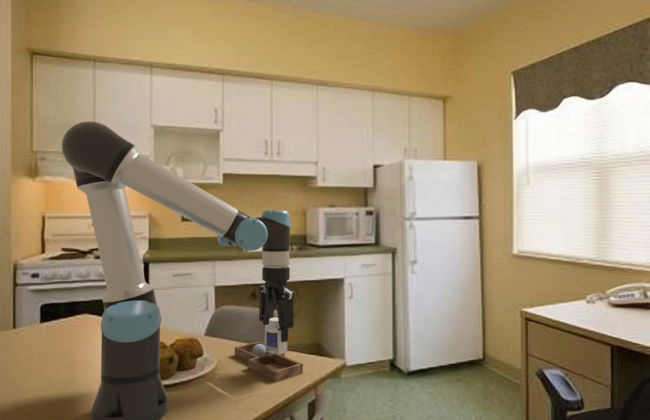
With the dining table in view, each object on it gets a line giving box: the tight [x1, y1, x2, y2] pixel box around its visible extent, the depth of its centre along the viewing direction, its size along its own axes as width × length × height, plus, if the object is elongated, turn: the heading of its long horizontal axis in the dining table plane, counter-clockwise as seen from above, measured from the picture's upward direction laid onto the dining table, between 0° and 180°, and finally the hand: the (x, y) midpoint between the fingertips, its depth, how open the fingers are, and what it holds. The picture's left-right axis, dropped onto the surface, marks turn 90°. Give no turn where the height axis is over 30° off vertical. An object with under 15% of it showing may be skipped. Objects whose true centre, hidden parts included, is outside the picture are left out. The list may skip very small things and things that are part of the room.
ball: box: [253, 344, 266, 357], centre depth 130 cm, size 4×4×4 cm
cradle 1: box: [234, 341, 286, 365], centre depth 130 cm, size 9×13×3 cm
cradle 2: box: [247, 354, 304, 383], centre depth 120 cm, size 9×13×3 cm
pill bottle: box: [267, 316, 280, 354], centre depth 120 cm, size 5×5×9 cm
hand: (275, 350), depth 120 cm, fingers closed on pill bottle, 5 cm apart
